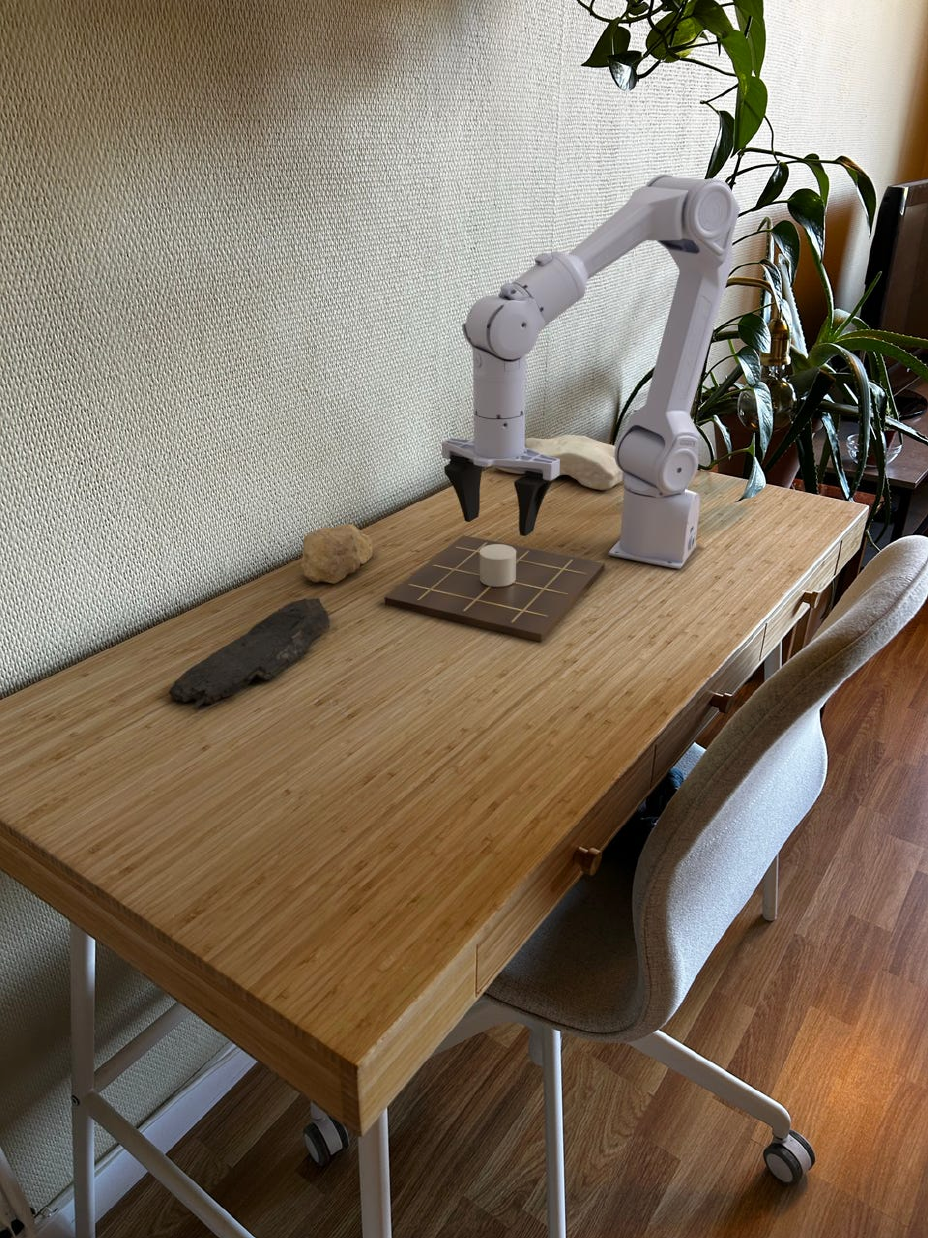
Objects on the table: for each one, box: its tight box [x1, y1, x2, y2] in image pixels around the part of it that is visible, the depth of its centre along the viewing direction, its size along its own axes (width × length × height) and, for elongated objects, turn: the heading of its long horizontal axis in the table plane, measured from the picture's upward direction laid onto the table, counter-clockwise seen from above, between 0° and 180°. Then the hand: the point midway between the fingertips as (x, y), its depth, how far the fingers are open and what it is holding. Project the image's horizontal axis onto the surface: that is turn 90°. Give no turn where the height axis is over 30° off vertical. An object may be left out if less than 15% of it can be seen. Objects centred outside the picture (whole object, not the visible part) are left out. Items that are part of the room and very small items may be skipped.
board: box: [383, 534, 606, 643], centre depth 111 cm, size 20×20×1 cm
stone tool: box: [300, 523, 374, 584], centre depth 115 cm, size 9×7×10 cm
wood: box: [168, 597, 331, 710], centre depth 96 cm, size 22×7×3 cm, turn 150°
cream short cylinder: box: [479, 544, 516, 587], centre depth 110 cm, size 4×4×4 cm
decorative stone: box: [495, 434, 623, 491], centre depth 146 cm, size 21×5×15 cm
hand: (498, 525), depth 107 cm, fingers open, 7 cm apart
